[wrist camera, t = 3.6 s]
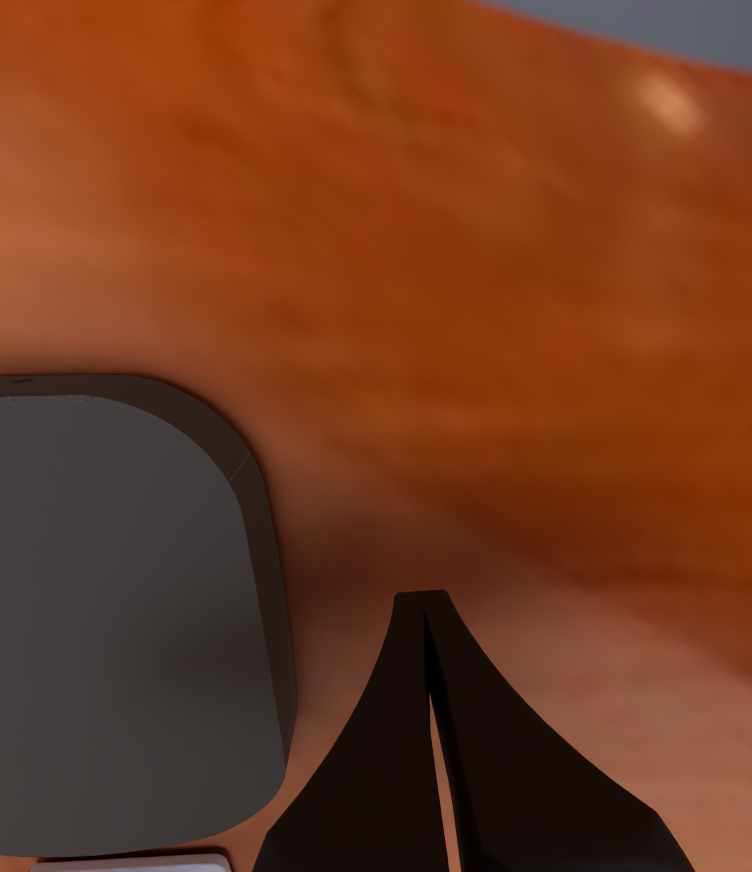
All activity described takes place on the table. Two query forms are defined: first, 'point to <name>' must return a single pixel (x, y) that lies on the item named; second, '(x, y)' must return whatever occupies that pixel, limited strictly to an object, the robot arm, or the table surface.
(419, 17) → the table surface
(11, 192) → the table surface
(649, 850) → the robot arm
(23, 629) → the media streaming box
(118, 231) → the table surface
